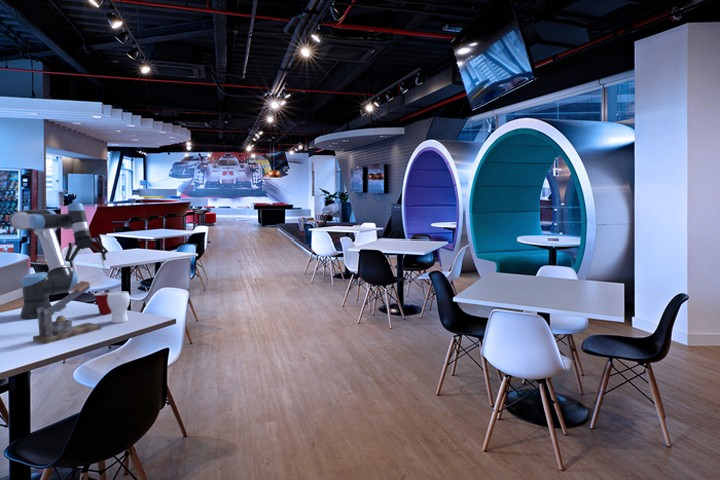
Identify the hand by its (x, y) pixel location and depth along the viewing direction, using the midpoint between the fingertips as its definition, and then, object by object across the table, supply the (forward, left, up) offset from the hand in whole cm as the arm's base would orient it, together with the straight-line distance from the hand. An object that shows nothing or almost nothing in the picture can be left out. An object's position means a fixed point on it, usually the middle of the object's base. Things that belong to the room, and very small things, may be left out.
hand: (90, 269), depth 248 cm
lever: (+14, -20, -12) cm, 27 cm away
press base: (+14, -22, -27) cm, 37 cm away
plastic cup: (-8, +12, -27) cm, 31 cm away
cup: (+14, +5, -27) cm, 31 cm away
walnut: (+14, -25, -19) cm, 34 cm away
